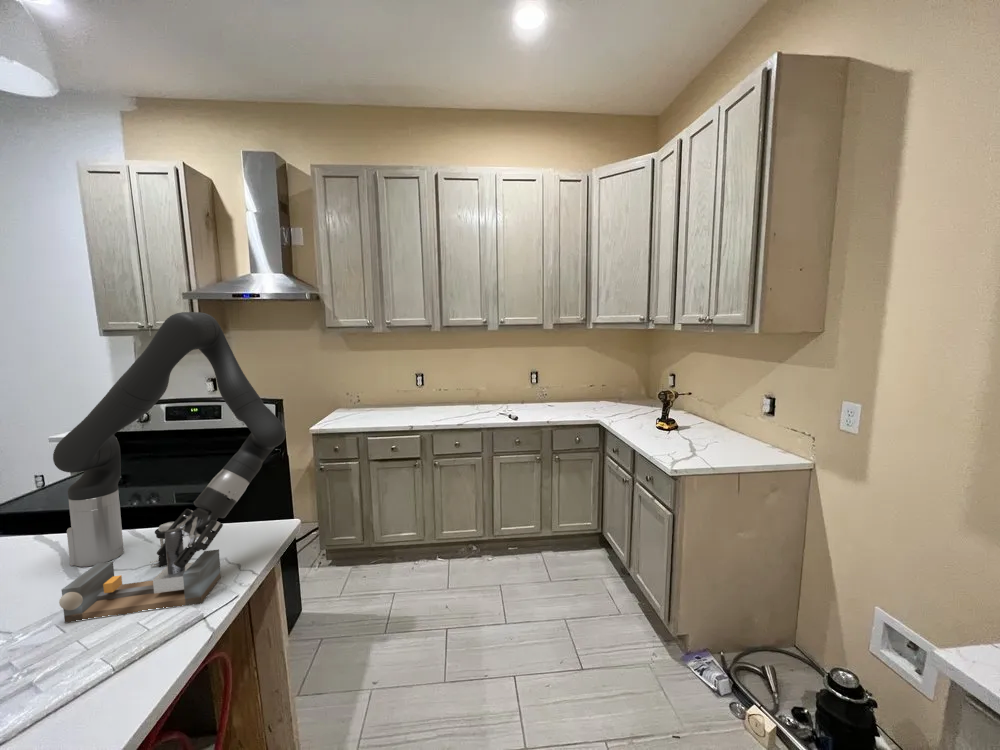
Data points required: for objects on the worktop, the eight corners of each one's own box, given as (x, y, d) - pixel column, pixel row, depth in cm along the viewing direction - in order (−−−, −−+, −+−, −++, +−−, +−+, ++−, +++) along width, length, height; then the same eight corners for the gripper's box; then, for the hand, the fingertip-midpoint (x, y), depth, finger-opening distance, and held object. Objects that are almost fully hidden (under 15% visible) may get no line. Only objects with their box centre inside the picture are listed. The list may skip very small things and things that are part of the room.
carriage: (154, 593, 88) (149, 539, 87) (169, 578, 94) (165, 526, 93) (186, 589, 90) (182, 535, 89) (199, 574, 95) (195, 523, 94)
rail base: (61, 624, 83) (58, 590, 82) (98, 593, 93) (95, 563, 92) (200, 604, 88) (198, 573, 88) (221, 577, 98) (218, 549, 98)
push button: (150, 572, 101) (146, 533, 100) (151, 563, 105) (147, 525, 104) (184, 563, 105) (181, 525, 104) (184, 555, 109) (181, 518, 109)
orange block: (104, 593, 87) (103, 584, 87) (113, 585, 90) (112, 576, 90) (113, 592, 88) (112, 582, 87) (122, 584, 91) (121, 575, 90)
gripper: (195, 480, 100) (139, 546, 91) (225, 490, 93) (167, 563, 84) (220, 495, 105) (170, 559, 96) (251, 505, 98) (199, 576, 89)
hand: (169, 561), depth 90 cm, fingers open, 8 cm apart
